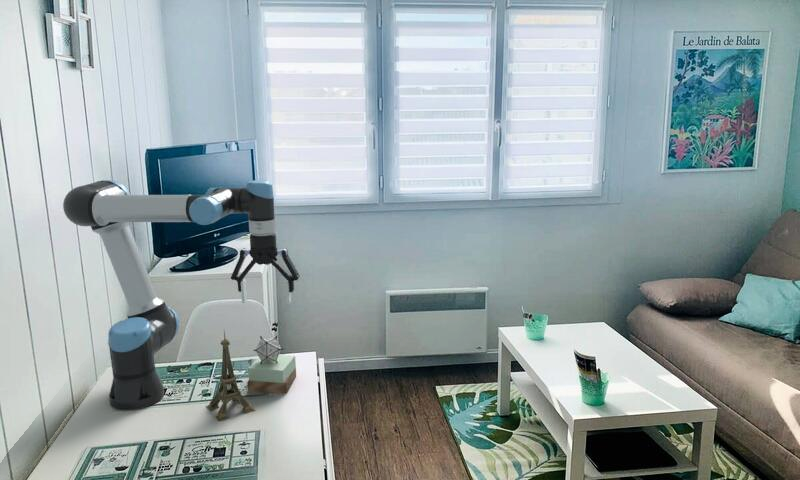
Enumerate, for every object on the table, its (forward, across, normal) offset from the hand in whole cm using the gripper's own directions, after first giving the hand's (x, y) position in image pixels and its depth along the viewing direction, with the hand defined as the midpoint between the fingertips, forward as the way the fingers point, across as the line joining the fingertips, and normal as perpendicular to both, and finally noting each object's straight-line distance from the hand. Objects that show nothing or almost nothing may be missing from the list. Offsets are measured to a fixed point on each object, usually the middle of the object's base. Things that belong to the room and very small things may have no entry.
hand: (266, 302), depth 196 cm
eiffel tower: (+27, -8, -16) cm, 33 cm away
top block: (+23, +1, 0) cm, 23 cm away
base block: (+27, 0, 0) cm, 27 cm away
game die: (+20, 0, 0) cm, 20 cm away
